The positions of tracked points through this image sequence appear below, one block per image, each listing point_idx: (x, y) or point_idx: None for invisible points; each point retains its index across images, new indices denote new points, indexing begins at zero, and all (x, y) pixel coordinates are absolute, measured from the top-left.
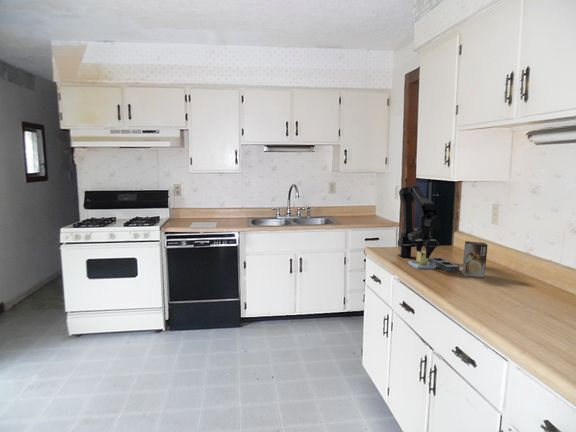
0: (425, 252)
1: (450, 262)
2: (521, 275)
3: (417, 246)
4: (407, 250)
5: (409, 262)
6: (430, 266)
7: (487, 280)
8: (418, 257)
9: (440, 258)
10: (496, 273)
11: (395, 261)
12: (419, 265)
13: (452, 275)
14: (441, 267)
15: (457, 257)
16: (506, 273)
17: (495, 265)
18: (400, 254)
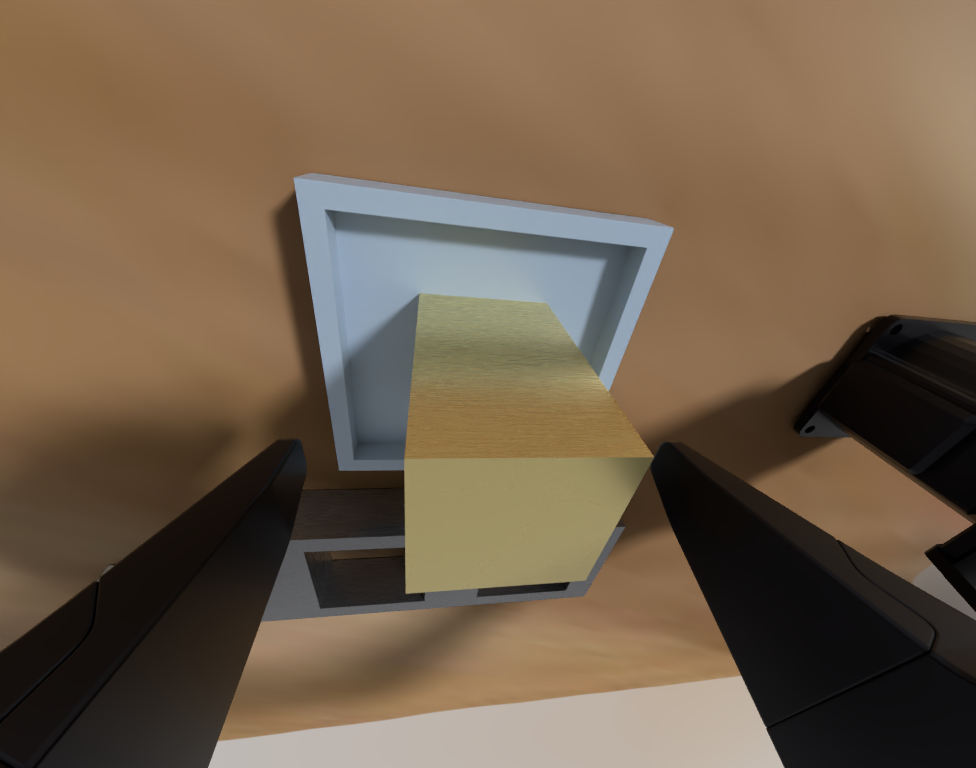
0: (452, 559)
1: (410, 607)
2: (249, 728)
3: (821, 596)
4: (955, 424)
5: (628, 218)
6: (330, 407)
7: (2, 633)
8: (511, 361)
9: (563, 588)
10: (265, 686)
11: (883, 24)
12: (436, 296)
13: (52, 482)
14: (343, 502)
15: (622, 643)
16: (277, 706)
17: (437, 702)
18: (972, 340)
